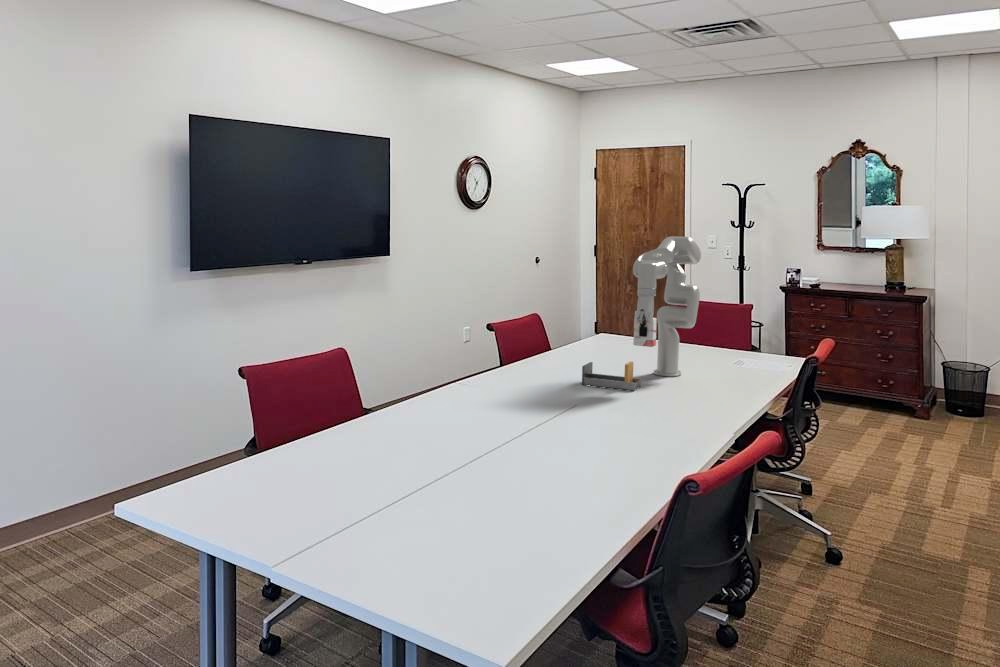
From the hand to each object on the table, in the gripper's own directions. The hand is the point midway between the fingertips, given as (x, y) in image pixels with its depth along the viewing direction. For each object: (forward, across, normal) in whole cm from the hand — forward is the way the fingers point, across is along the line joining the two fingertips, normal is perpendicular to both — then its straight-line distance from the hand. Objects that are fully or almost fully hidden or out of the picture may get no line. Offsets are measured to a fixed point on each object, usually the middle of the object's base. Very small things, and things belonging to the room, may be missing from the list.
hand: (645, 334), depth 312 cm
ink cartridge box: (+5, 0, 0) cm, 5 cm away
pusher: (+23, 0, -6) cm, 23 cm away
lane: (+23, 0, -14) cm, 27 cm away
